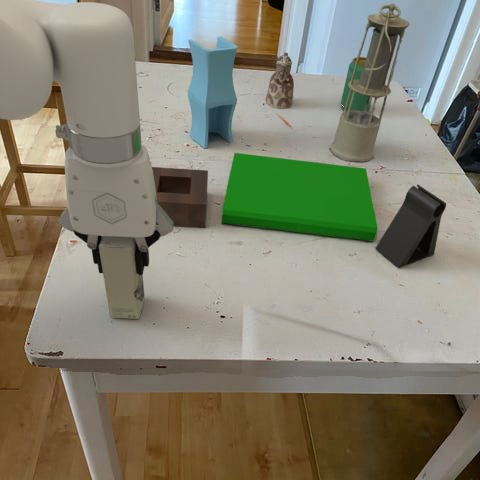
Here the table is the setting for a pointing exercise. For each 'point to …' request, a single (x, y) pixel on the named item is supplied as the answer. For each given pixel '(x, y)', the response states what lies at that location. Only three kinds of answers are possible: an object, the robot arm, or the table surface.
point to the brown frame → (182, 195)
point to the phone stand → (413, 228)
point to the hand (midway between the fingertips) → (122, 266)
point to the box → (121, 276)
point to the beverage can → (358, 99)
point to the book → (299, 197)
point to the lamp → (370, 87)
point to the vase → (212, 91)
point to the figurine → (281, 84)
